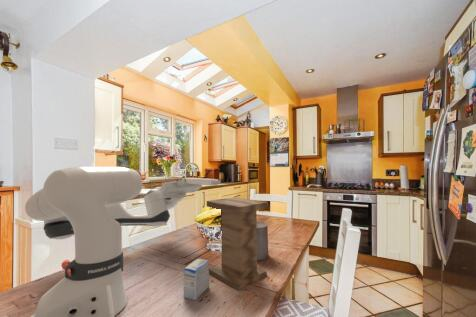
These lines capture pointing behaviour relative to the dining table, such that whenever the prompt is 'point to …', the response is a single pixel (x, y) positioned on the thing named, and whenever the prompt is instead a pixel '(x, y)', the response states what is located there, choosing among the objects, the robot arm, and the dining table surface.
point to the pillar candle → (262, 241)
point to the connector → (202, 181)
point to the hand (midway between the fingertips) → (189, 179)
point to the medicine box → (196, 278)
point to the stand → (238, 241)
